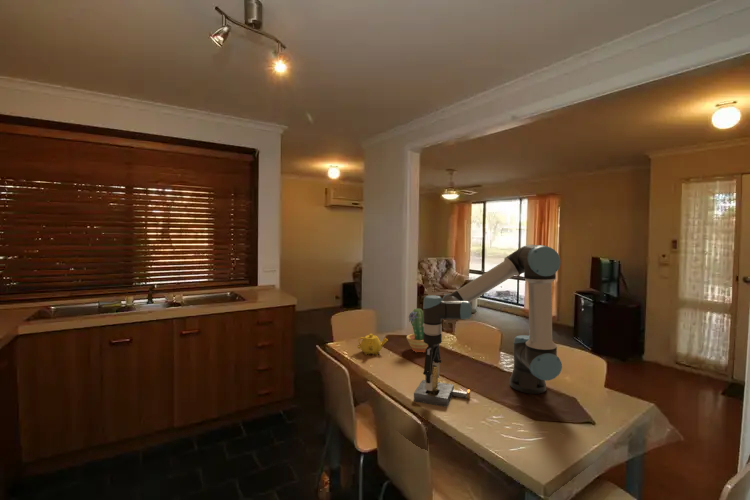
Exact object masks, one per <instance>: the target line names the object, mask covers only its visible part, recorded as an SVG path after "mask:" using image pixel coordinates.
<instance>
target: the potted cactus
mask: <svg viewBox="0 0 750 500" xmlns="http://www.w3.org/2000/svg"><path fill="white" fill-rule="evenodd" d="M408 321H409V322H410V324H411V326H412V328H413V333H411V334H408V335H406V341H408V344H409V346H410V347H411V351H412V350H413V351H415V353H417V352H423V353H426V351H425V350H426V349H427V347H428V344H426V343H424V341H423V334H424V327H423V326H422V325H423V324H424V323H423V308H414V309H413V311H411V312H409V314H408ZM413 351H412V352H413Z"/></svg>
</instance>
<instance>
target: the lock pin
mask: <svg viewBox="0 0 750 500" xmlns="http://www.w3.org/2000/svg"><path fill="white" fill-rule="evenodd" d="M452 397H458V398H464V399H466V400H471V389H467V391H465V390H457V389H454V390H452Z"/></svg>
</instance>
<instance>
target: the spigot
mask: <svg viewBox="0 0 750 500" xmlns="http://www.w3.org/2000/svg"><path fill="white" fill-rule="evenodd" d="M438 382H439V378H438V366H435V365H433V367H432V391H429V390H428V394H432V395H438Z"/></svg>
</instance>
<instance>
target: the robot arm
mask: <svg viewBox="0 0 750 500" xmlns="http://www.w3.org/2000/svg"><path fill="white" fill-rule="evenodd" d="M560 267H561V257H560V254H559V253H558V252H557V251H556V250H555V249H554V248H552V247H551V246H548V245H543V244H526V245H524V246H521V247H520V248H518V249H516V250H515V251H514V252H512V253H511V254H509V255H507V256H506V257H504V260H503V261H501V263H499V264H497V265H496V266H493V267H492V268H491V269H489V270H487V271H486V272H484V273H482V274H481V275H479V276H478V277H476V278H474V279H473V280H471V281H469V282H468V283H466V284H465V285H463V286H462V287H460V288H458V289H457V290H455V291H454V292H452V293H447V294H444V295H443V296H442V297H441V296H439V295H432V294H431V295H426V296H424V297H423V303H422V304H423V306H422V311H423V323H424V324H423V325H422V326H423V327H424V334H423V341H424V343H426V344H428V347H427V349H426V350H425V351H426V352H425V357H424V358H425V359H424V365H423V367H424V368H423V372H422V374H423V375H424V380H425V390H429V391H432V367H433V365H435V366H438V379H440V364H441V363H442V360H441V352H440V351H441V350H440V345H441V343H442V339H443V337H442V336H443V334H442V332H443V331H442V330H443V327H442V325H443V324H442V322H443V321H442V320H469V319H471V317H472V311H473V310H472V304H471V303H472V301H474V300H477V299H478V298H479V297H481V296H483V295H484V294H486V293H488V292H490V291H491V290H493V289H494V288H496V287H498V286H499V285H501V284H503V283H504V282H505V281H507V280H509V279H510V278H513V277H514V276H515V277H518V276H520V275H521V274H523V279H524V280H525V281H526V282H527V283H528V285H527V286H528V289H527V290H528V328H529V329H528V331H529V332H528V333H529V334H528V335H516V336H515V337H514V338H513V339H514V340H513V369H512V373H511V375H510V377H509V386H510V387H511V388H512V389H514V390H516V391H517V392H521V393H525V394H529V395H530V394H531V395H539V394H543V393H545V392H546V391H547V381H552V380H554V379H556V378H557V377H558V376H559V375H560V374H561V372H562V369H563V365H562V360H561V359H560V357H558V348H557V344H556V343H555V342H554V341H553V306H552V305H553V302H552V301H553V300H552V299H553V297H552V295H553V293H552V288H553V287H552V283H553V282H554V281H556V279H557V277H556V273H557V272H558V271H559V269H560Z"/></svg>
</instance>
